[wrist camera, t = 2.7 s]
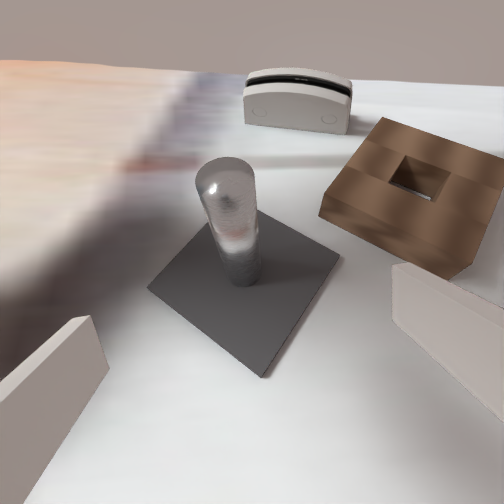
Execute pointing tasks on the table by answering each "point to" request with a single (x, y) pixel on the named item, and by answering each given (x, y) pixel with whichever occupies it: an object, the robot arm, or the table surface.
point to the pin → (232, 216)
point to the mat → (246, 290)
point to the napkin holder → (298, 100)
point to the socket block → (417, 197)
